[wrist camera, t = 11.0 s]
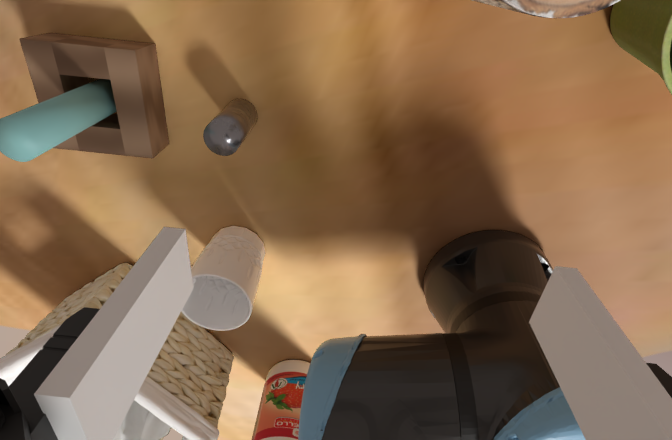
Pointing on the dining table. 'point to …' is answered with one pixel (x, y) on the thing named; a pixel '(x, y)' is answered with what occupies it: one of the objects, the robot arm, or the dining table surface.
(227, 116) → the short pin
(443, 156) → the dining table surface
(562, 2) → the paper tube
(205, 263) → the white cup
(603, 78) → the dining table surface
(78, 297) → the storage basket
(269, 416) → the fruit juice
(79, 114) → the long pin
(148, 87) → the hole block
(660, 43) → the plant pot
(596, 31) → the dining table surface
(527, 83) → the dining table surface
